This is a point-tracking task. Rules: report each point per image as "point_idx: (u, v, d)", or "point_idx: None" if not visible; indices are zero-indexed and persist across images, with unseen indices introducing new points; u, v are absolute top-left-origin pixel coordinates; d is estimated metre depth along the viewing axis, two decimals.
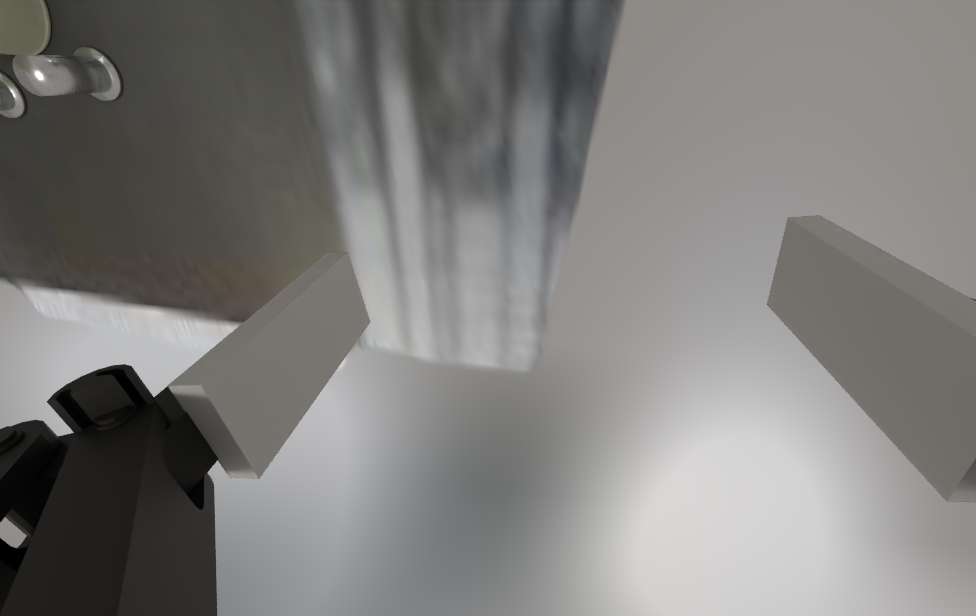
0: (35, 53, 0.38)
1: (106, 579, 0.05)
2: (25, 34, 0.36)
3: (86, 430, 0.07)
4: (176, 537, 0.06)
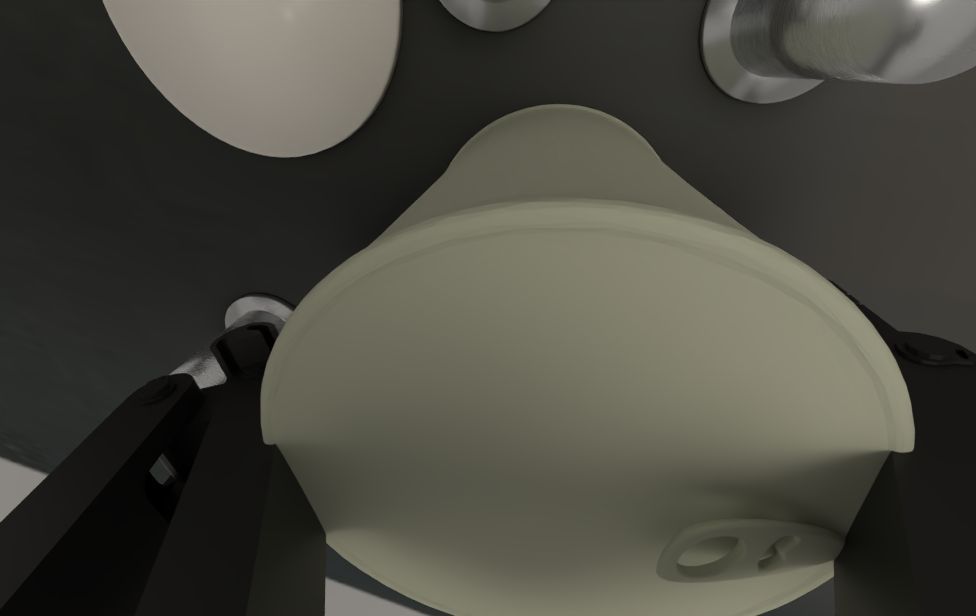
0: None
1: (247, 522, 0.05)
2: None
3: (235, 376, 0.08)
4: (299, 490, 0.07)
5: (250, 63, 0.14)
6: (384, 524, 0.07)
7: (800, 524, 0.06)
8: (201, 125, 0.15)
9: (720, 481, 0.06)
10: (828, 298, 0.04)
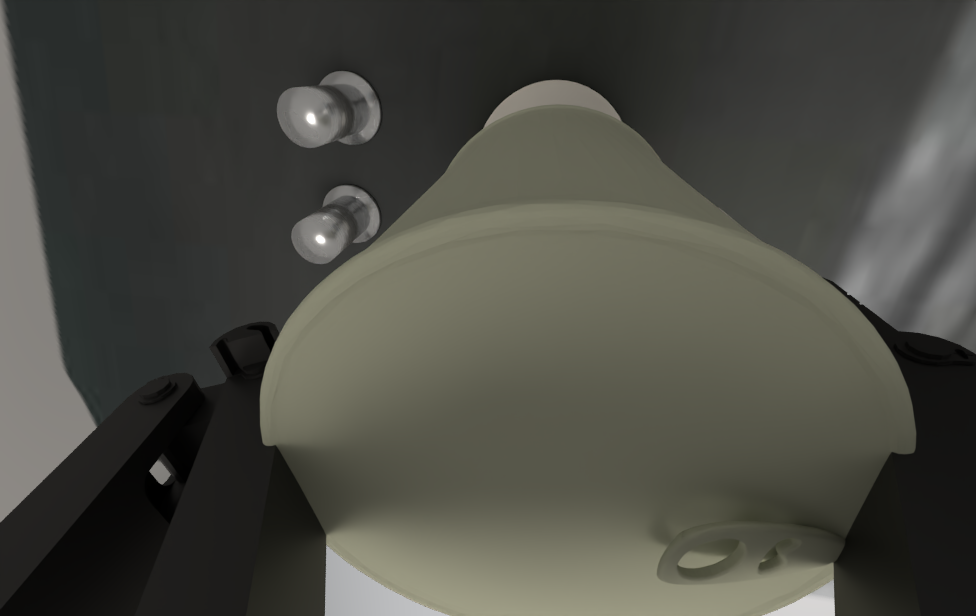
0: None
1: (247, 522, 0.05)
2: None
3: (235, 376, 0.08)
4: (299, 490, 0.07)
5: None
6: (384, 526, 0.07)
7: (801, 526, 0.06)
8: None
9: (721, 484, 0.06)
10: (829, 300, 0.04)
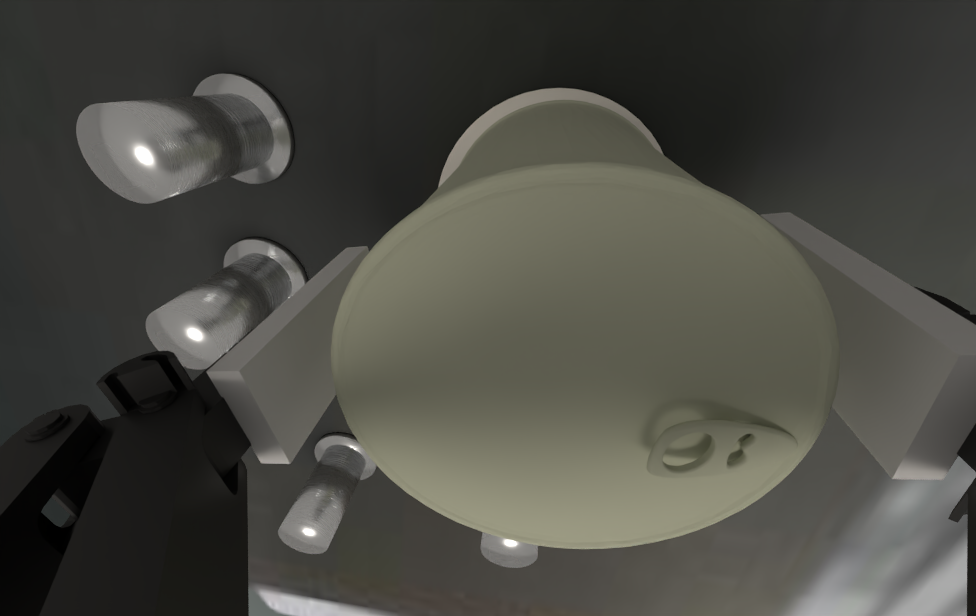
0: None
1: (147, 560, 0.05)
2: None
3: (131, 412, 0.07)
4: (212, 521, 0.06)
5: None
6: (424, 443, 0.09)
7: (759, 425, 0.07)
8: (457, 142, 0.17)
9: (696, 392, 0.07)
10: (767, 234, 0.06)
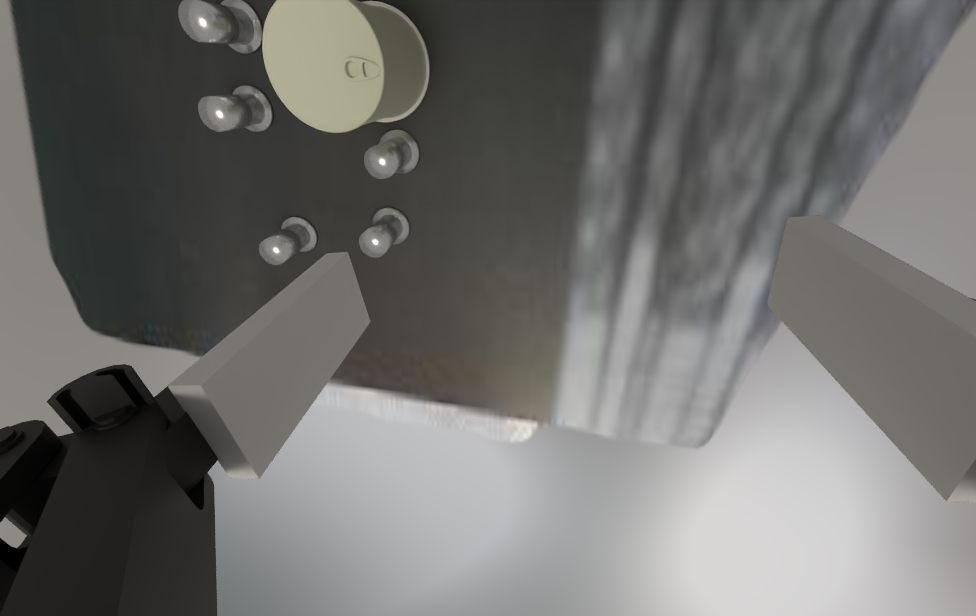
0: (422, 48, 0.38)
1: (105, 578, 0.05)
2: (399, 21, 0.35)
3: (86, 430, 0.07)
4: (176, 537, 0.06)
5: None
6: (291, 85, 0.30)
7: (367, 61, 0.29)
8: None
9: (351, 52, 0.29)
10: (345, 0, 0.27)
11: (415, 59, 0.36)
